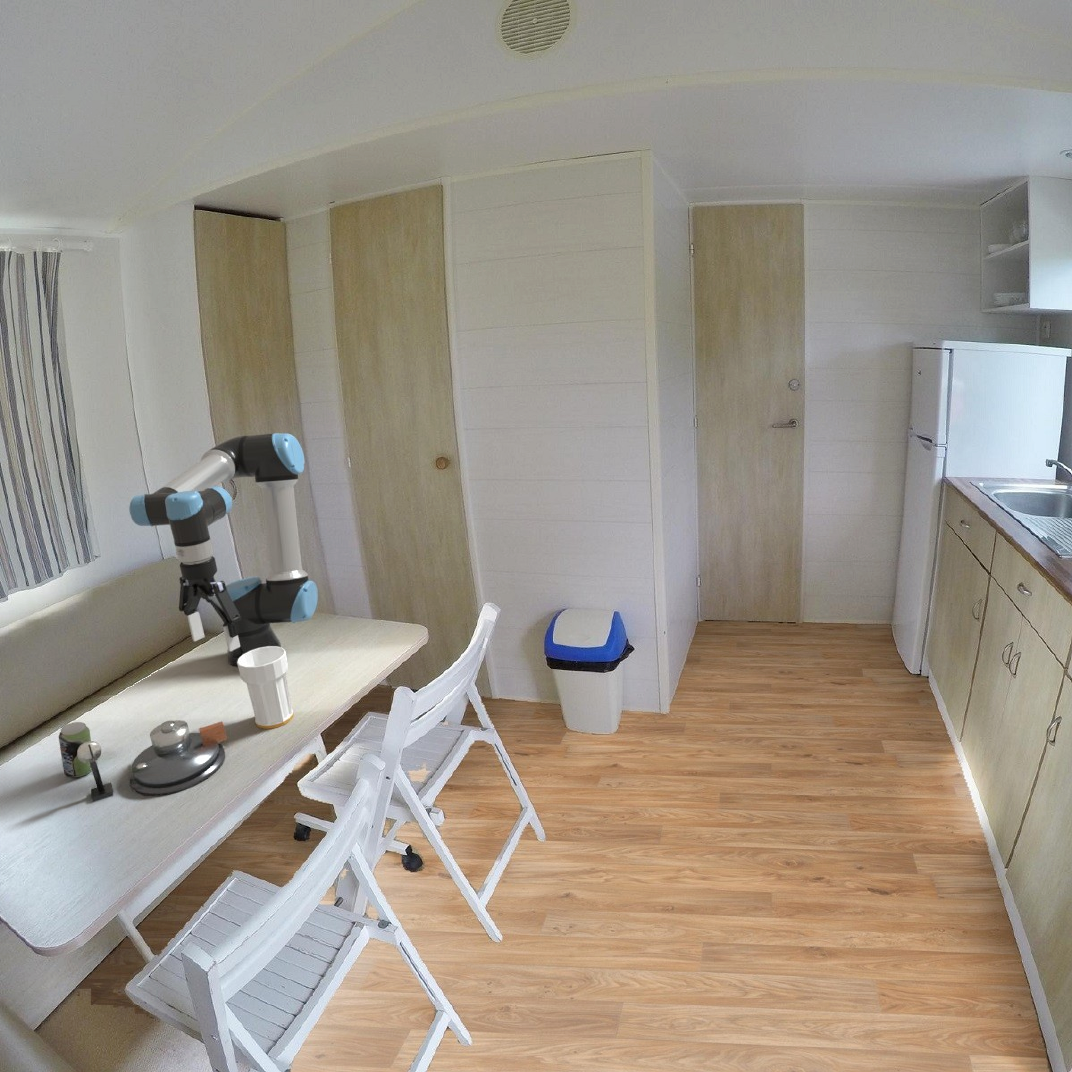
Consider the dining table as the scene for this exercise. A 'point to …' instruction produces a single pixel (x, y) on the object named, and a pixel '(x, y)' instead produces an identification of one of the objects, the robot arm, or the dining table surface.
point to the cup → (267, 685)
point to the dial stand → (94, 769)
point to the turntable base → (180, 786)
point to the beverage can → (74, 748)
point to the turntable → (179, 760)
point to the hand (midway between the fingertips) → (216, 643)
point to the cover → (170, 737)
